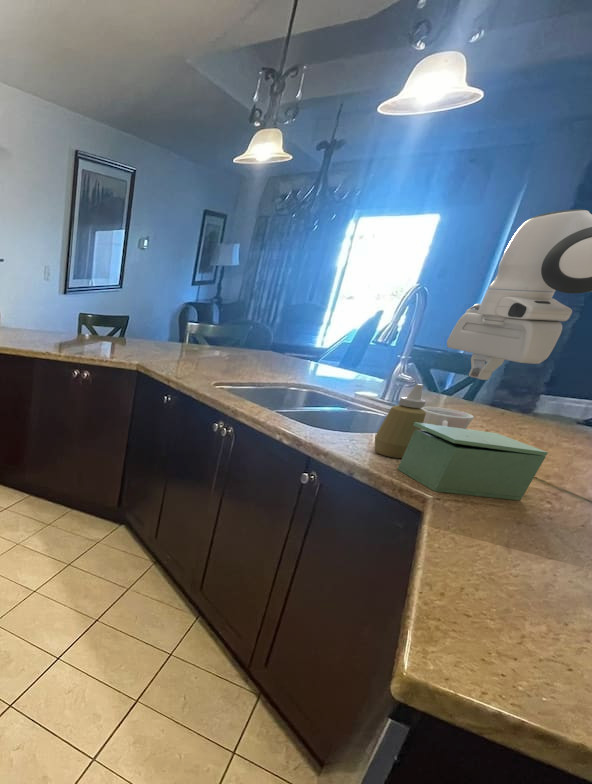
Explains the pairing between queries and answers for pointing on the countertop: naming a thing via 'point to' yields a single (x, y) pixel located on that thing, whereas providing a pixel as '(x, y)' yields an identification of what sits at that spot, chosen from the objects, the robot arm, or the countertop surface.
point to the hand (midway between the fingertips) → (478, 378)
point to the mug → (447, 417)
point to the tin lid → (479, 438)
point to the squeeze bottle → (400, 424)
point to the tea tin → (468, 467)
